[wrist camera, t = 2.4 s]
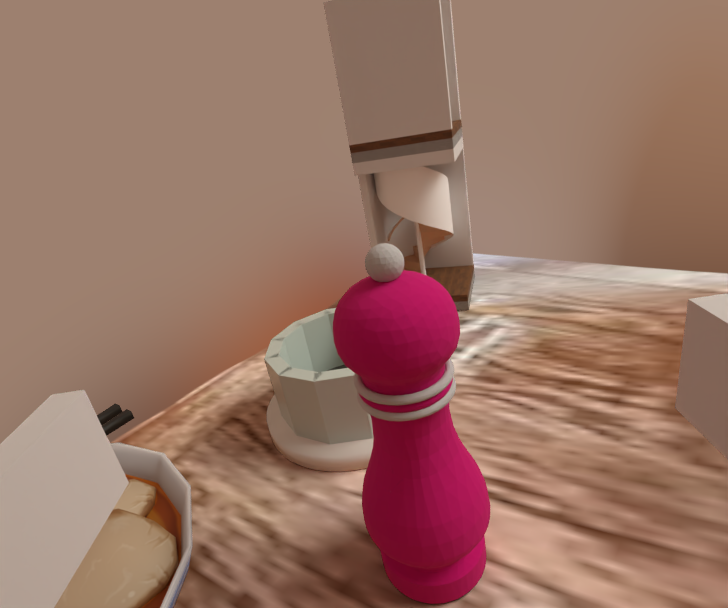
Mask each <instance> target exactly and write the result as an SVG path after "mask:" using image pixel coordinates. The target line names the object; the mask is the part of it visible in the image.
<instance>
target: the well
mask: <svg viewBox="0 0 728 608" xmlns="http://www.w3.org/2000/svg"><path fill="white" fill-rule="evenodd" d="M335 309H336V308H332V309H325V310H323V311H321V312H318V313H315V314H313V315H310V316H308V317H305V318H303V319H300V320H298V321H295V322H293V323H292V324H291V325H289V326H288V327H287V328H286V329H284V330H283V331H282V332H281V333H279V334H278V335H277V336H275V337H274V338H273V339H271V342H270V345H269V347H268V350H267V353H266V356H265V358H264V360H265V363H266V367H267V370H268V373H269V376H270V380H271V383H272V386H273V389H274V393H275V394H274V395H273V397H272V399H271V400H270V403H269V405H268V409H267V424H268V428H269V431H270V434H271V437H272V441H273V443H274V445H275V447H276V448H277V449H278V451H279V452H280V453H281V454H282V455H283V456H284V457H286V458H287V459H288V460H290V461H292V462H293V463H295V464H298V465H300V466H303V467H305V468H310V469H314V470H319V471H328V472H343V471H354V470H359V469H365V468H367V467H368V464H369V460H370V457H371V453H372V449H373V439H374V438H373V428H372V419H371V416H370V414H368V413H367V412H366V411H365V410H364V409H363V408H362V407H361V406H360V404H359V402H358V399H357V389H356V388H355V385H354V374H355V373H354V372H353V371H352V370H350V369H349V368H348V367H347V366H345V364H344V363H343V361H342V360H341V358H340V356H339V355H338V353H337V350H336V346H335V343H334V337H333V319H334V313H335Z"/></svg>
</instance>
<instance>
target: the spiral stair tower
mask: <svg viewBox="0 0 728 608" xmlns="http://www.w3.org/2000/svg"><path fill="white" fill-rule="evenodd" d="M324 9H325V14H326V19H327V25H328V31H329V36H330V41H331V47H332V52H333V58H334V64H335V69H336V75H337V80H338V86H339V91H340V97H341V102H342V108H343V113H344V119H345V124H346V129H347V135H348V141H349V146H350V151H351V157H352V163H353V168H354V174H355V176H356V175H358V179H359V184H360V190H361V195H362V201H363V206H364V212H365V218H366V223H367V229H368V234H369V240H370V245H371V248H372V247H374V246H376V245H378V244H381V243H388V244H391V245H394V246H396V247H397V248H398V249H399V250H400V251H401V253H402V254H403V257H404V269H403V270H406V271H415V272H418V273H421V274H425V275H427V276H429V277H432V278H433V279H435V280H436V281H437V282H439V283H440V284H441V285H442V286H443V287H444V288H445V289H446V290H447V291H448V292H449V294H450V295H451V297H452V299H453V301H454V303H455V305H456V309H457V310H469V306H470V300H471V294H472V289H473V283H474V277H475V274H474V263H473V252H472V240H471V228H470V217H469V205H468V195H467V183H466V173H465V172H466V171H465V160H464V150H463V149H464V148H463V136H462V125H461V113H460V102H459V91H458V79H457V68H456V56H455V45H454V33H453V22H452V10H451V0H332V1H328V2H324Z"/></svg>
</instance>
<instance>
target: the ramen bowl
mask: <svg viewBox="0 0 728 608" xmlns="http://www.w3.org/2000/svg"><path fill="white" fill-rule="evenodd" d="M118 414H119V415H118ZM115 416H116V417H115ZM97 417H98V419H99V421H100V424H101V425H102V428H103V430H104V432H105V434H106V436H107V435H108V434H109V433H111V432H113V431H115V430H116V429H118V428H119V427H121V426H122V425H124V424H125V423H127V422H128V421H130V420H132V419H133V418H134V417H133V415H132V412H131V411H129V410H125V411H124V412H122V410H121V408H120V406H119V405H117V404H114V405H112V406H111V407H110V408H108V409H106V410H105V411H103V412H102V413H100V414H99V415H97ZM112 418H113V419H112ZM109 420H110V421H109ZM106 422H107V423H106ZM103 424H104V425H103ZM110 444H111V446H112V448H113V451H114V453H115V455H116V457H117V459H118V461H119V463H120V465H121V467H122V469H123V471H124V473H125V476H126V478H127V480H128V482H129V484H128V485H127V487H126V489H125V490H124V492H123V494H122V495H121V497H120V499H119V500H118V502H117V504H116V505H115V507H114V509H113V510H112V512H111V514H110V515H109V517H108V519H107V520H106V522H105V524H104V525H103V527H102V529H101V530H100V532H99V534H98V535H97V537H96V539H95V540H94V542H93V544H92V545H91V547H90V549H89V550H88V552H87V554H86V555H85V557H84V559H83V560H82V562H81V564H80V565H79V567H78V569H77V570H76V572H75V574H74V575H73V577H72V579H71V580H70V582H69V584H68V585H67V587H66V589H65V590H64V592H63V594H62V595H61V597H60V599H59V600H58V602H57V604H56V606H55V607H54V608H173V607H174V605H175V602H176V600H177V598H178V595H179V593H180V590H181V588H182V585H183V582H184V580H185V577H186V574H187V572H188V568H189V562H190V556H191V550H192V514H191V486H190V484H189V483H188V482H187V481H186V479H185V478H184V477H183V476H182V475H181V473H180V472H179V471H178V470H177V468H176V467H175V466H174V465H173V464H172V462H171V461H170V460H169V459H168V457H167V456H166V455H165V454H164V453H161V452H157V451H152V450H148V449H144V448H140V447H136V446H131V445H127V444H123V443H110Z"/></svg>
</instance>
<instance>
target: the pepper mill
mask: <svg viewBox="0 0 728 608" xmlns="http://www.w3.org/2000/svg"><path fill="white" fill-rule="evenodd" d="M365 267H366V270H367V272H368V274H369V275H370V276H369V277H366V278H365V279H362V280H360V281H359V282H357V283H356V284H354V285H353V286H352V287H351V288H349V290H348V291H347V292H346V293H345V294H344V295H343V297H342V298H341V299H340V301H339V303H338V305H337V307H336V309H335V313H334V319H333V337H334V343H335V346H336V350H337V353H338V355H339V356H340V358H341V360H342V361H343V363H344V364H345V366H347V367H348V368H349V369H350V370H352V371H353V372H354V373H355V374H354V385H355V388H356V389H357V399H358V402H359V404H360V406H361V407H362V408H363V409H364V410H365V411H366V412H367V413H368V414H370V416H371V419H372V428H373V438H374V439H373V449H372V453H371V457H370V460H369V464H368V467H367V471H366V474H365V477H364V483H363V492H362V507H363V515H364V520H365V524H366V528H367V530H368V533H369V534H370V536H371V538H372V540H373V541H374V543H375V544H376V545H377V546H378V548H379V549H380V551H381V555H382V560H383V564H384V568H385V571H386V574H387V576H388V578H389V579H390V581H391V583H392V584H393V585H394V586H395V587H396V588H397V589H398V590H399V591H400V592H401V593H403V594H404V595H406V596H407V597H409V598H411V599H413V600H416V601H420V602H424V603H429V604H438V603H446V602H450V601H453V600H456V599H459V598H460V597H462V596H463V595H465V594H466V593H468V592H469V591H470V590H471V589H472V588H473V587H474V586H475V585H476V584H477V583H478V581H479V580H480V578H481V577H482V574H483V571H484V569H485V564H486V547H485V538H484V534H485V532H486V530H487V527H488V524H489V519H490V502H489V496H488V491H487V487H486V483H485V480H484V478H483V476H482V473H481V471H480V469H479V467H478V465H477V463H476V462H475V460H474V459H473V457H472V456H471V455H470V453H469V452H468V451H467V449H466V448H465V447H464V445H463V444H462V442H461V441H460V439H459V437H458V435H457V433H456V431H455V428H454V426H453V422H452V418H451V414H450V410H449V401H450V400H451V399H452V397H453V396H454V393H455V390H456V382H455V378H454V376H453V374H454V365H453V362H452V361H451V359H450V357H451V355H452V354H453V352H454V351H455V349H456V348H457V344H458V340H459V336H460V324H459V317H458V313H457V309H456V305H455V303H454V301H453V299H452V297H451V295H450V294H449V292H448V291H447V290H446V289H445V288H444V287H443V286H442V285H441V284H440V283H439V282H437V281H436V280H435V279H433V278H432V277H429V276H427V275H425V274H421V273H418V272H415V271H406V270H403V269H404V257H403V254H402V253H401V251H400V250H399V249H398V248H397V247H396V246H394V245H391V244H388V243H381V244H378V245H376V246H374V247H372V248H371V249H370V250H369V252H368V254H367V256H366V259H365Z"/></svg>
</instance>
